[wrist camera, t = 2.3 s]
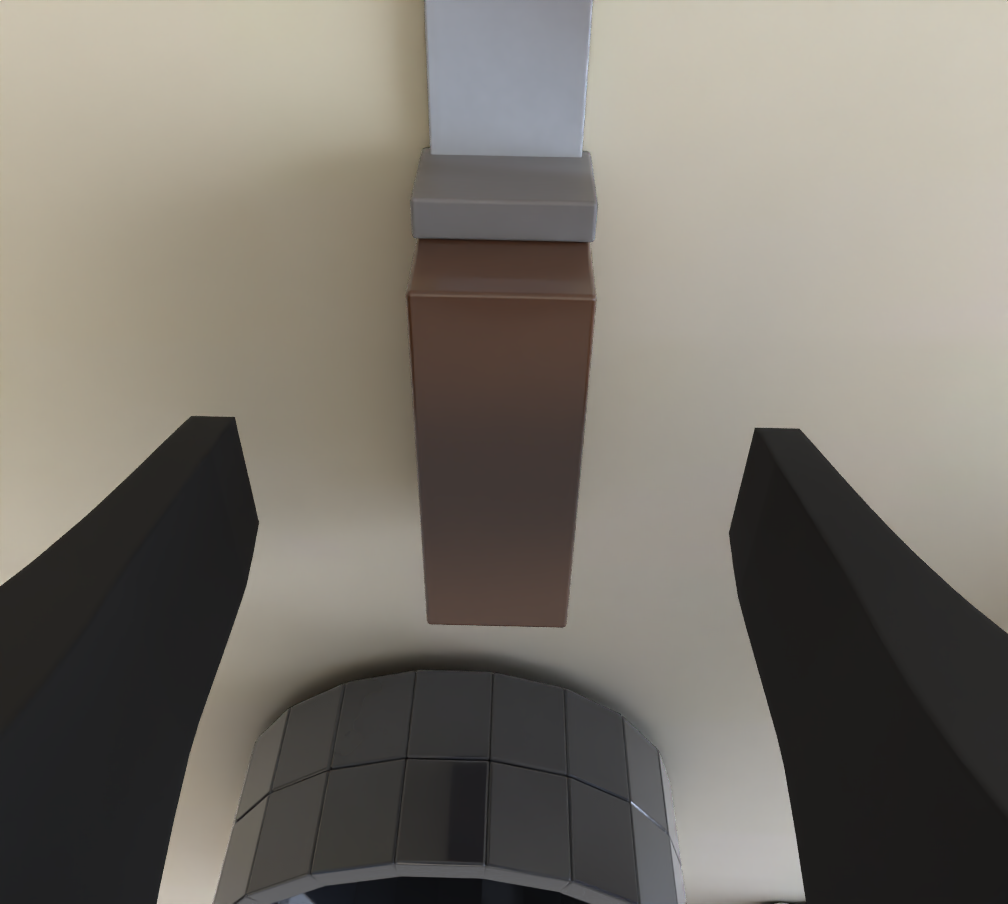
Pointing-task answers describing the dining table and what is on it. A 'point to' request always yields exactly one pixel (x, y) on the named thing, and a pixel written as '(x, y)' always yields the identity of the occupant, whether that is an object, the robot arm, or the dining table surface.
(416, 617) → the dining table surface
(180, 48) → the dining table surface
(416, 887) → the bowl
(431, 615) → the knife
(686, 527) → the dining table surface
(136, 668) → the robot arm
